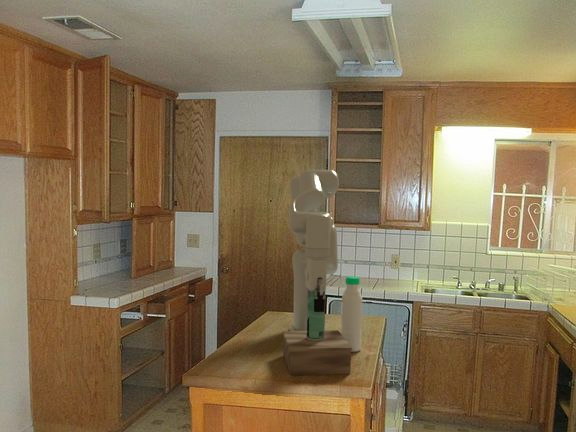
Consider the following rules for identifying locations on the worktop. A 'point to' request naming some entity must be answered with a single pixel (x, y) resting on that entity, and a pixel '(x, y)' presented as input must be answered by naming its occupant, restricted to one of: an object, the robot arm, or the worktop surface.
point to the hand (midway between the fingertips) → (316, 307)
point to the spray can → (314, 320)
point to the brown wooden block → (316, 353)
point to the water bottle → (352, 313)
